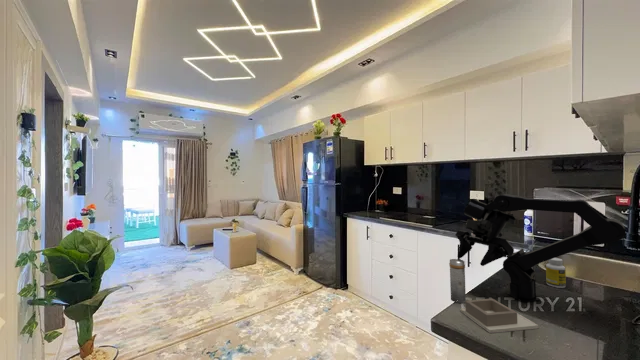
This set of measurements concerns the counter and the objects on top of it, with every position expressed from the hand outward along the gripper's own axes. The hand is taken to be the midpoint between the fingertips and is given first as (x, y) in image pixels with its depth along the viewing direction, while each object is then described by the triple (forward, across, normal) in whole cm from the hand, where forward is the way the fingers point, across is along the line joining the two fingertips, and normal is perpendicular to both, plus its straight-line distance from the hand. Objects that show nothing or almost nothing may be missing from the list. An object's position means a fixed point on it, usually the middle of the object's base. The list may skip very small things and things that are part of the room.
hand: (469, 261), depth 90 cm
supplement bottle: (-17, +3, +35) cm, 39 cm away
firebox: (+12, +13, +5) cm, 19 cm away
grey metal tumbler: (+12, 0, +5) cm, 13 cm away
